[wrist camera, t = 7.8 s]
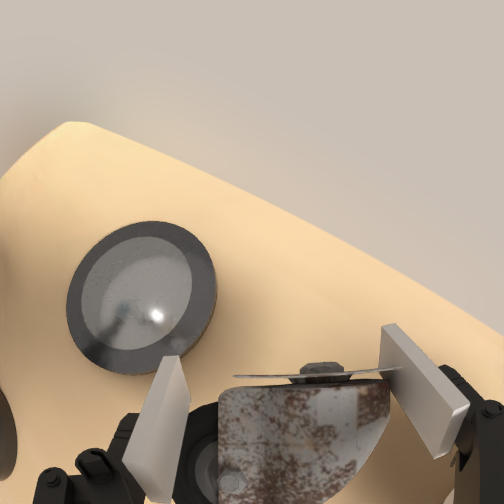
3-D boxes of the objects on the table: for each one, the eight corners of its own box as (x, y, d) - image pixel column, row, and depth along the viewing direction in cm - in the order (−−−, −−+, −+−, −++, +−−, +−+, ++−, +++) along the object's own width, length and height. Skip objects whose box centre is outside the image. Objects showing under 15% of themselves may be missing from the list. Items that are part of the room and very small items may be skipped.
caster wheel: (199, 501, 15) (199, 365, 19) (375, 510, 12) (381, 359, 16) (143, 537, 9) (137, 356, 13) (385, 565, 6) (403, 351, 10)
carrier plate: (64, 373, 28) (58, 371, 27) (83, 238, 38) (79, 233, 37) (223, 370, 28) (221, 368, 27) (213, 215, 38) (211, 209, 37)
